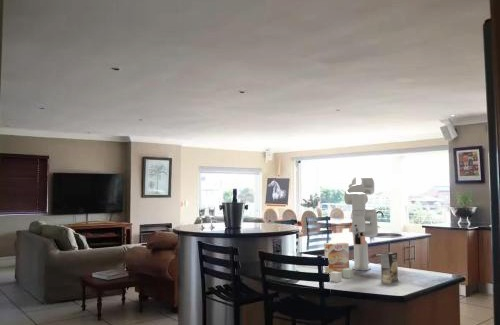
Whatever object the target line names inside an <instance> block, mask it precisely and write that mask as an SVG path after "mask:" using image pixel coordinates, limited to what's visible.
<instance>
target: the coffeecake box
mask: <svg viewBox="0 0 500 325" xmlns="http://www.w3.org/2000/svg"><path fill="white" fill-rule="evenodd" d="M323 246H324V258H325V257H326V258H328V260H329V266H328V267H325V266H324V272H325V273H326V274H328V273H331V272H334V271H335V272H341V274H342V269H344V268H350V245H349V243H347V242H325V243H324V245H323Z"/></svg>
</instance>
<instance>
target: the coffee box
mask: <svg viewBox="0 0 500 325" xmlns="http://www.w3.org/2000/svg"><path fill="white" fill-rule="evenodd" d="M380 266H381V268H380V269H381V271H380V272H381V275H380V276H381V277H382V274H391V282H393V281H396V280H398V279H399V273H398V272H399V270H398V268H399V266H398V252H394V251H387V252H380Z"/></svg>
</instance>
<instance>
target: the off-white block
mask: <svg viewBox="0 0 500 325" xmlns="http://www.w3.org/2000/svg"><path fill="white" fill-rule="evenodd" d="M329 276H330V278H329V279H330V282H337V283H339V282H341V281H343V280H342V279H343V274H342V273H341V272H335V271H334V272H331V273H330V274H329Z"/></svg>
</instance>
